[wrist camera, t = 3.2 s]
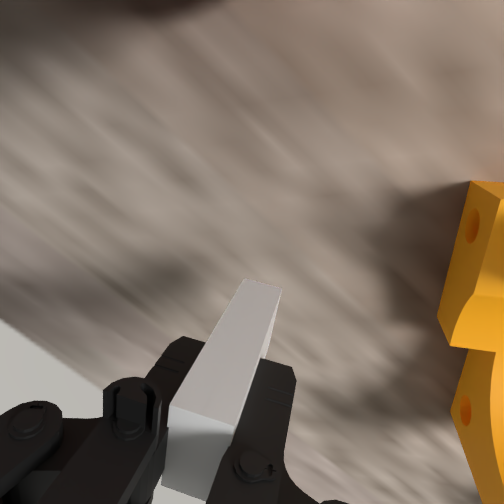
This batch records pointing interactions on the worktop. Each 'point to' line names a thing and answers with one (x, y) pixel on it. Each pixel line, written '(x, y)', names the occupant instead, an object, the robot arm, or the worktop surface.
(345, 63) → the worktop surface
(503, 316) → the pipe clamp
